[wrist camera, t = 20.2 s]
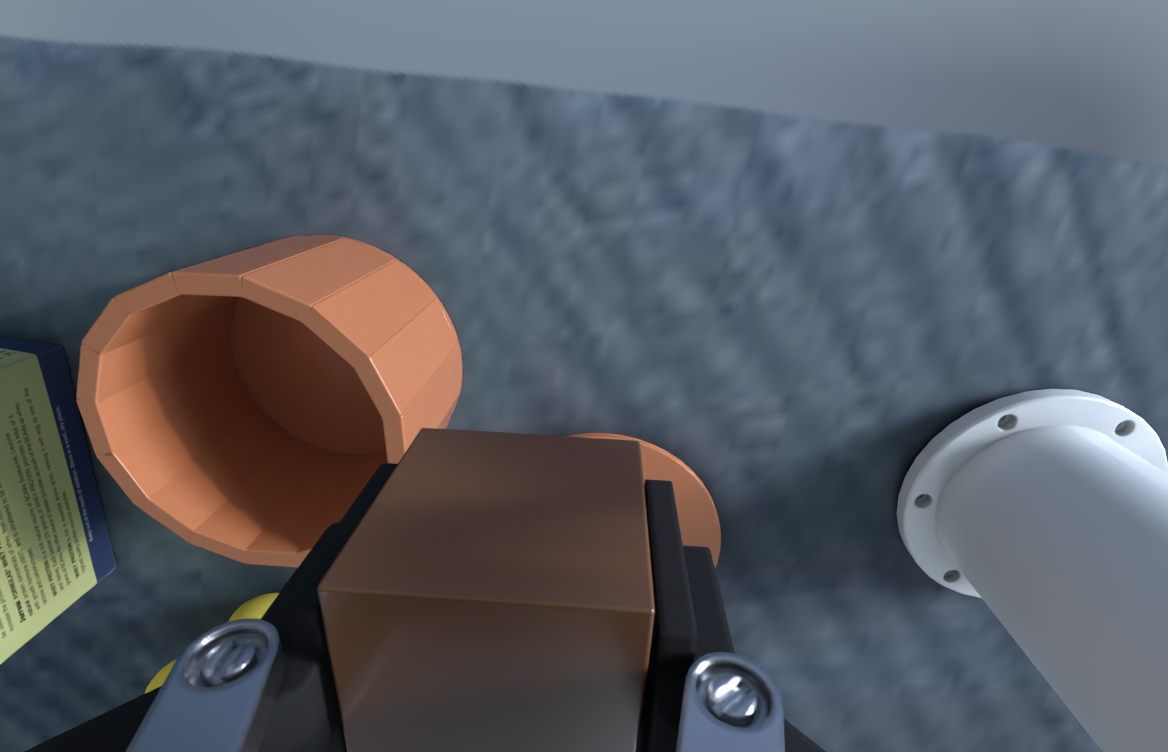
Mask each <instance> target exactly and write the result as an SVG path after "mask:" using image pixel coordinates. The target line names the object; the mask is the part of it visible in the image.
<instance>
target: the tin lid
mask: <svg viewBox="0 0 1168 752" xmlns="http://www.w3.org/2000/svg"><path fill="white" fill-rule="evenodd" d="M567 437H584V438H600V439H616V440H633V441H639V442H640V445H641V456H642V467H643V479H644V483H645V480H646V479H649V480H665V481H672V484H673V490H674V496H675V502H676V508H677V514H678V520H679V526H680V532H681V538H682V544H683V545H685V546H700V547H708V548H709V549H710V551H711V554H712V558H713V563H714V567H716V565H717V563H718V558H719V554H720V549H721V528H720V522H719V518H718V514H717V510H716V507H715V504H714V502H713V500H712V497H711V495H710V493H709V492H708V490H707V489H706V487H705V485H704V484H703V482H702V481H701V480H700V479H699V478H698V476H697V475H696V474H695V473H694V472H693V471H692V470H691V469H690V468H689V467H688V466H687V465H686V464H684V463H683V462H682V461H681V460H680V459H678V458H677V457H675V456H674V455H672V454H671V453H669V452H668V451H666V450H664V449H662V448H660V447H658V446H656V445H654V444H651V443H648V442H646V441H643V440H640V439H637V438H633V437H628V436H624V435H619V434H610V433H582V434H574V435H568V436H567Z"/></svg>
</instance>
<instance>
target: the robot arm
mask: <svg viewBox="0 0 1168 752" xmlns="http://www.w3.org/2000/svg"><path fill="white" fill-rule="evenodd" d="M397 465H398V464H395V463H382V464H381V465H380V466H379V467H378V469H377V470H376V471H375V473H374V474H373V476H372V477H371V478H370V480H369V481H368V483H367V484H366V486H365V487H364V488H363V490H362V491H361V493H360V494H359V495H358V497H357V498H356V500H355V501H354V502H353V504H352V505H351V507H350V508H349V510H348V511H347V512H346V514H345V515H344V517H343V518H342V519H341V521H340V522H339V523H336V522H335V523H333V524H331V525H330V526H329V527H328V528H327V529H326V530H325V531H324V533H323V534H322V535H321V537H320V538H319V540H318V541H317V542H316V544H315V545H314V546H313V548H312V549H311V551H310V552H309V553H308V555H307V556H306V557H305V559H304V560H303V562H302V563H301V564H300V566H299V567H298V568H297V570H296V571H295V572H294V574H293V575H292V577H291V578H290V579H289V581H288V582H287V583H286V585H285V586H284V588H283V589H282V590H281V592H280V593H279V594H278V596H277V597H276V599H275V600H274V601H273V603H272V604H271V605H270V607H269V608H268V609H267V611H266V612H265V614H264V615H263V616H262V618H261V619H240V620H235V621H230V622H227V623H224V624H222V625H219V626H217V627H214V628H212V629H210V630H209V631H207V632H205V633H204V634H202V635H200V636H199V637H197V638H196V639H195V640H194V641H193V642H192V643H190V644H189V645H188V646H187V647H186V648H185V649H184V650H183V652H182V653H181V654H180V656H179V657H178V658H177V660H176V661H175V663H174V665H173V667H172V668H171V670H170V672H169V674H168V676H167V677H166V679H165V681H164V683H163V685H162V686H160V687H158V688H156V689H154V690H152V691H150V692H148V693H145V694H143V695H141V696H139V697H137V698H135V699H133V700H131V701H129V702H127V703H125V704H123V705H120V706H118V707H116V708H114V709H112V710H110V711H108V712H106V713H104V714H102V715H100V716H98V717H96V718H93V719H91V720H89V721H87V722H85V723H83V724H81V725H79V726H77V727H75V728H73V729H71V730H68V731H66V732H64V733H62V734H60V735H58V736H56V737H54V738H52V739H50V740H48V741H46V742H43V743H41V744H39V745H37V746H35V747H33V748H31V749H29V750H27V751H25V752H347V748H346V742H345V737H344V732H343V726H342V721H341V715H340V710H339V705H338V699H337V694H336V689H335V683H334V678H333V672H332V667H331V662H330V656H329V651H328V646H327V640H326V635H325V629H324V624H323V619H322V613H321V608H320V603H319V597H318V592H317V588H318V585H319V583H320V582H321V580H322V579H323V577H324V576H325V574H326V573H327V571H328V570H329V568H330V567H331V565H332V564H333V562H334V561H335V559H336V557H337V556H338V554H339V553H340V551H341V550H342V548H343V547H344V545H345V544H346V542H347V541H348V539H349V538H350V536H351V535H352V533H353V532H354V530H355V529H356V527H357V526H358V524H359V522H360V521H361V519H362V518H363V516H364V515H365V513H366V512H367V510H368V509H369V507H370V506H371V504H372V503H373V501H374V500H375V498H376V497H377V495H378V494H379V492H380V491H381V489H382V487H383V486H384V484H385V483H386V481H387V480H388V478H389V477H390V475H391V474H392V472H393V471H394V469H395V468H396V466H397ZM644 490H645V502H646V513H647V525H648V536H649V548H650V559H651V570H652V582H653V593H654V605H655V615H654V624H653V632H652V640H651V648H650V657H649V665H648V673H647V681H646V689H645V698H644V706H643V714H642V722H641V730H640V739H639V747H638V752H825V751H824V750H823V749H822V748H820V747H819V746H818V745H817V744H815V743H814V742H813V741H812V740H810V739H809V738H808V737H807V736H805V735H804V734H803V733H802V732H800V731H799V730H798V729H796V728H795V727H794V726H793V725H791V724H790V723H789V722H788V721H786V720H785V719H784V716H783V703H782V698H781V693H780V690H779V689H778V687H777V685H776V683H775V682H774V680H773V678H772V677H771V676H770V675H769V674H768V673H767V672H766V671H765V670H764V669H763V668H762V667H761V666H759V665H758V664H756V663H755V662H753V661H752V660H750V659H749V658H746V657H743V656H741V655H738V654H735V653H734V648H733V644H732V640H731V636H730V631H729V627H728V623H727V618H726V614H725V610H724V606H723V601H722V597H721V593H720V588H719V584H718V580H717V576H716V571H715V567H714V563H713V558H712V554H711V551H710V549H709V548H708V547H700V546H685V545H683V544H682V538H681V532H680V526H679V520H678V514H677V508H676V502H675V496H674V490H673V484H672V481H665V480H649V479H646V480H645V483H644ZM897 521H898V529H899V533H900V535H901V538H902V540H903V542H904V545H905V547H906V548H907V550H908V551H909V553H910V554H911V556H912V557H913V559H914V560H915V562H916V563H917V564H918V565H919V566H920V568H921V569H922V570H923V571H924V572H925V573H926V574H927V575H928V576H929V577H931V578H932V579H933V580H935V581H936V582H938V583H939V584H941V585H942V586H944V587H947V588H949V589H952V590H954V591H956V592H959V593H961V594H965V595H969V596H974V597H978V598H982V599H983V600H984V602H985V603H986V604H987V605H988V607H989V608H990V609H991V610H992V612H993V613H994V614H995V616H996V617H997V618H998V619H999V621H1000V622H1001V623H1002V624H1003V626H1004V627H1005V628H1006V629H1007V631H1008V632H1009V633H1010V635H1011V636H1012V637H1013V638H1014V640H1015V641H1016V642H1017V643H1018V645H1019V646H1020V647H1021V649H1022V650H1023V651H1024V652H1025V654H1026V655H1027V656H1028V657H1029V659H1030V660H1031V661H1032V662H1033V664H1034V665H1035V666H1036V668H1037V669H1038V670H1039V671H1040V673H1041V674H1042V675H1043V676H1044V678H1045V679H1046V680H1047V682H1048V683H1049V684H1050V685H1051V687H1052V688H1053V689H1054V690H1055V692H1056V693H1057V694H1058V696H1059V697H1060V698H1061V699H1062V701H1063V702H1064V703H1065V704H1066V706H1067V707H1068V708H1069V709H1070V711H1071V712H1072V713H1073V715H1074V716H1075V717H1076V718H1077V720H1078V721H1079V722H1080V723H1081V725H1082V726H1083V727H1084V729H1085V730H1086V731H1087V732H1088V734H1089V735H1090V736H1091V737H1092V739H1093V740H1094V741H1095V742H1096V744H1097V745H1098V746H1099V748H1100V749H1101V750H1102V751H1103V752H1168V463H1167V458H1166V453H1165V449H1164V447H1163V445H1162V443H1161V441H1160V440H1159V438H1158V436H1157V434H1156V432H1155V431H1154V430H1153V429H1152V428H1151V427H1150V426H1149V425H1148V424H1147V423H1146V422H1145V421H1144V420H1143V419H1142V418H1141V417H1139V416H1138V415H1136V414H1135V413H1133V412H1131V411H1130V410H1128V409H1126V408H1125V407H1123V406H1121V405H1119V404H1117V403H1115V402H1113V401H1111V400H1109V399H1106V398H1104V397H1102V396H1100V395H1096V394H1092V393H1088V392H1083V391H1079V390H1068V389H1044V390H1035V391H1026V392H1022V393H1018V394H1014V395H1010V396H1007V397H1003V398H999V399H997V400H994V401H992V402H990V403H987V404H985V405H983V406H980V407H978V408H976V409H973V410H972V411H970V412H969V413H967V414H965V415H964V416H962V417H960V418H959V419H957V420H956V421H954V422H952V423H951V424H950V425H948V426H947V427H946V428H945V429H944V430H942V431H941V432H940V433H939V434H938V435H937V436H935V437H934V438H933V439H932V440H931V441H930V442H929V443H928V444H927V446H926V447H925V448H924V449H923V450H922V451H921V453H920V454H919V455H918V456H917V457H916V459H915V461H914V462H913V464H912V466H911V467H910V469H909V471H908V472H907V474H906V476H905V478H904V481H903V484H902V487H901V490H900V493H899V496H898V505H897Z"/></svg>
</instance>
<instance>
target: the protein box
mask: <svg viewBox="0 0 1168 752" xmlns="http://www.w3.org/2000/svg"><path fill="white" fill-rule="evenodd" d="M115 568H116V562H115V558H114V554H113V550H112V546H111V542H110V537H109V534H108V530H107V526H106V521H105V517H104V513H103V509H102V505H101V501H100V497H99V492H98V488H97V484H96V481H95V476H94V472H93V468H92V464H91V460H90V456H89V451H88V447H87V443H86V439H85V435H84V431H83V427H82V423H81V419H80V415H79V411H78V407H77V402H76V398H75V394H74V390H73V386H72V382H71V378H70V374H69V370H68V366H67V362H66V358H65V354H64V351H63V348H62V347H61V346H59V345H51V344H44V343H37V342H30V341H23V340H16V339H9V338H2V337H0V664H2V663H3V662H4V661H5V660H6V659H8V658H9V657H10V656H11V655H12V654H14V653H15V652H16V651H17V650H18V649H20V648H21V647H22V646H23V645H24V644H25V643H26V642H28V641H29V640H30V639H31V638H33V637H34V636H35V635H36V634H37V633H39V632H40V631H41V630H42V629H43V628H44V627H46V626H47V625H48V624H49V623H50V622H51V621H53V620H54V619H55V618H56V617H57V616H59V615H60V614H61V613H62V612H63V611H65V610H66V609H67V608H68V607H69V606H71V605H72V604H73V603H74V602H75V601H76V600H78V599H79V598H80V597H81V596H82V595H84V594H85V593H86V592H87V591H89V590H90V589H91V588H92V587H94V586H95V585H96V584H97V583H99V582H100V581H101V580H102V579H104V578H105V577H106V576H107V575H109V574H110V573H111V572H113V570H114V569H115Z"/></svg>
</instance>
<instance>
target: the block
mask: <svg viewBox="0 0 1168 752" xmlns="http://www.w3.org/2000/svg"><path fill="white" fill-rule="evenodd" d="M317 592H318V597H319V603H320V608H321V613H322V619H323V624H324V629H325V635H326V640H327V646H328V651H329V656H330V662H331V667H332V672H333V678H334V683H335V689H336V694H337V699H338V705H339V710H340V715H341V721H342V726H343V732H344V737H345V742H346V748H347V752H638V747H639V739H640V730H641V722H642V714H643V706H644V698H645V689H646V681H647V673H648V665H649V657H650V648H651V640H652V632H653V624H654V615H655V605H654V593H653V582H652V570H651V559H650V548H649V536H648V525H647V513H646V502H645V490H644V479H643V467H642V456H641V445H640V442H639V441H633V440H616V439H600V438H584V437H567V436H551V435H534V434H518V433H502V432H485V431H469V430H453V429H436V428H422V429H421V430H420V431H419V433H418V434H417V436H416V437H415V439H414V440H413V442H412V443H411V445H410V446H409V448H408V449H407V451H406V452H405V454H404V455H403V457H402V459H401V460H400V462H399V463H398V465H397V466H396V468H395V469H394V471H393V472H392V474H391V475H390V477H389V478H388V480H387V481H386V483H385V484H384V486H383V487H382V489H381V491H380V492H379V494H378V495H377V497H376V498H375V500H374V501H373V503H372V504H371V506H370V507H369V509H368V510H367V512H366V513H365V515H364V516H363V518H362V519H361V521H360V522H359V524H358V526H357V527H356V529H355V530H354V532H353V533H352V535H351V536H350V538H349V539H348V541H347V542H346V544H345V545H344V547H343V548H342V550H341V551H340V553H339V554H338V556H337V557H336V559H335V561H334V562H333V564H332V565H331V567H330V568H329V570H328V571H327V573H326V574H325V576H324V577H323V579H322V580H321V582H320V583H319V585H318V588H317Z"/></svg>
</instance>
